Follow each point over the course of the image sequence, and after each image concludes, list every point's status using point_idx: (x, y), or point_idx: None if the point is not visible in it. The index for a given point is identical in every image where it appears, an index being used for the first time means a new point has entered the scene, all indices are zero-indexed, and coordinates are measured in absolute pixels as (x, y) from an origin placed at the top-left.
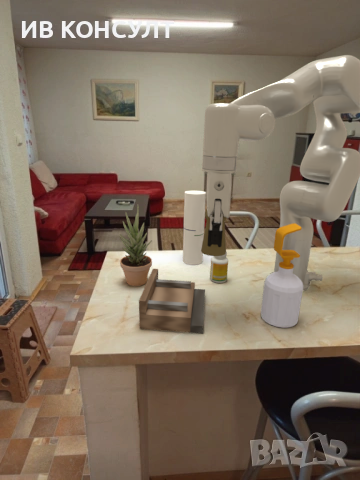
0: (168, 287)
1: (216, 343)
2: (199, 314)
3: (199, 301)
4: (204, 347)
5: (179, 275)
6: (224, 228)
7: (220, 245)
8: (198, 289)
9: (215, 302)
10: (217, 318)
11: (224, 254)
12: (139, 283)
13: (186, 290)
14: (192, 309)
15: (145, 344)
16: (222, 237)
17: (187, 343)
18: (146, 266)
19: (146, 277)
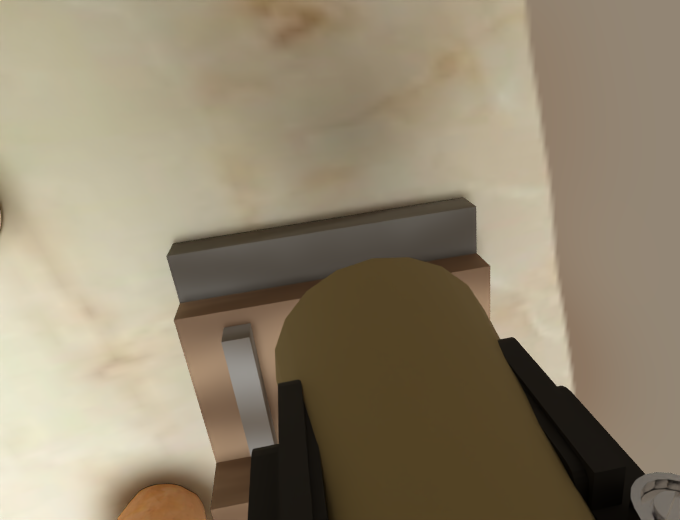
0: (269, 407)
1: (513, 140)
2: (398, 236)
3: (292, 258)
4: (538, 178)
5: (14, 395)
6: (503, 465)
7: (516, 349)
8: (179, 285)
9: (217, 186)
10: (349, 158)
11: (437, 265)
12: (194, 501)
13: (271, 334)
14: None
15: (538, 348)
16: (516, 391)
17: (522, 236)
18: None
19: (161, 503)
